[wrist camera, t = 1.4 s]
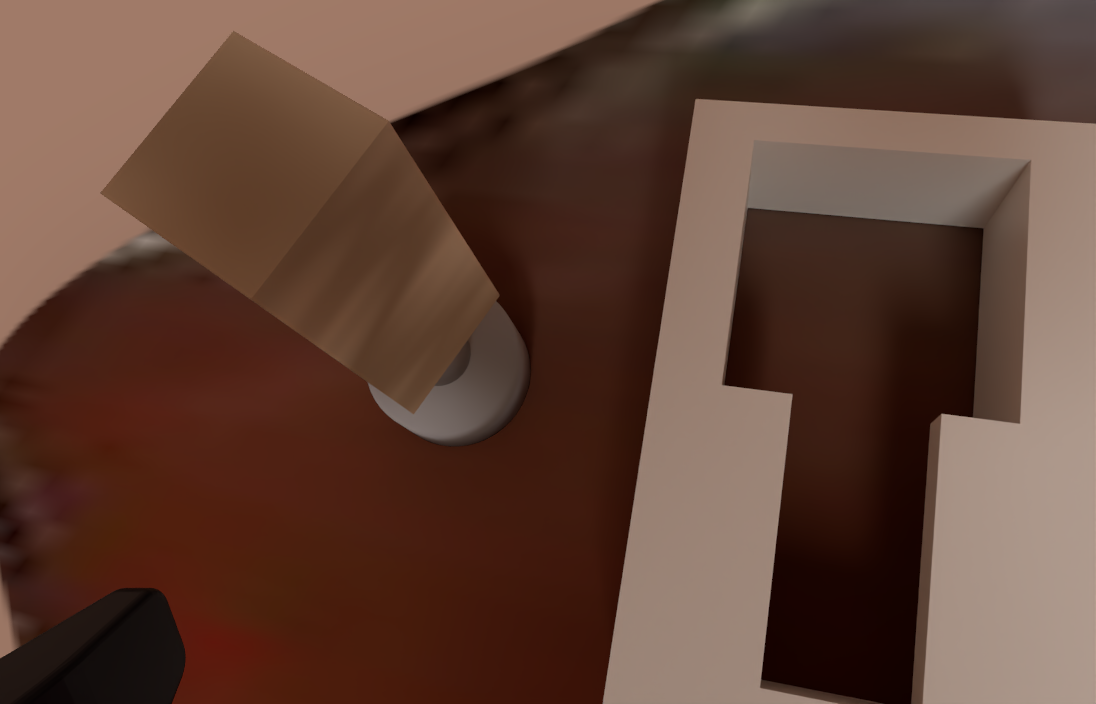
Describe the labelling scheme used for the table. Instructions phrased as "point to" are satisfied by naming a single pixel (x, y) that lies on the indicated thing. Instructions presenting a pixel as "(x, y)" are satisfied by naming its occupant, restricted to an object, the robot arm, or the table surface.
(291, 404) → the table surface
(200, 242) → the maple peg
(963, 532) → the keyhole block
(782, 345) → the table surface
